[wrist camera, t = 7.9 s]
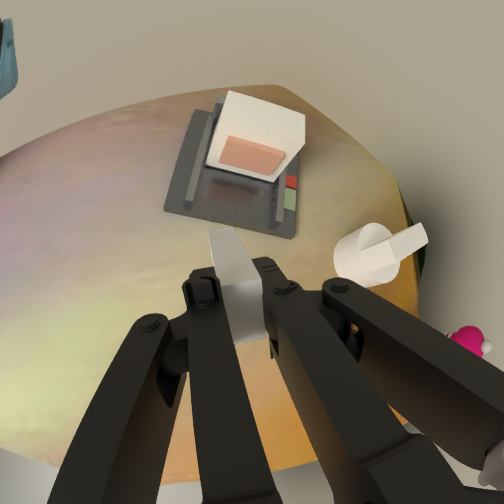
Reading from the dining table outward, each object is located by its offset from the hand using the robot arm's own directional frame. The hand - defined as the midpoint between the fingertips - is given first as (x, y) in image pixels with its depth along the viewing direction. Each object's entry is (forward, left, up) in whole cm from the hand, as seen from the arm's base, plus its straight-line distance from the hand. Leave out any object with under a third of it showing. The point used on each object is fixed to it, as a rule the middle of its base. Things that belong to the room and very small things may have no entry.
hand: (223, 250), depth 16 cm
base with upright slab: (+24, +8, -19) cm, 32 cm away
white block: (+3, +19, -17) cm, 25 cm away
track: (+3, +18, -18) cm, 26 cm away
